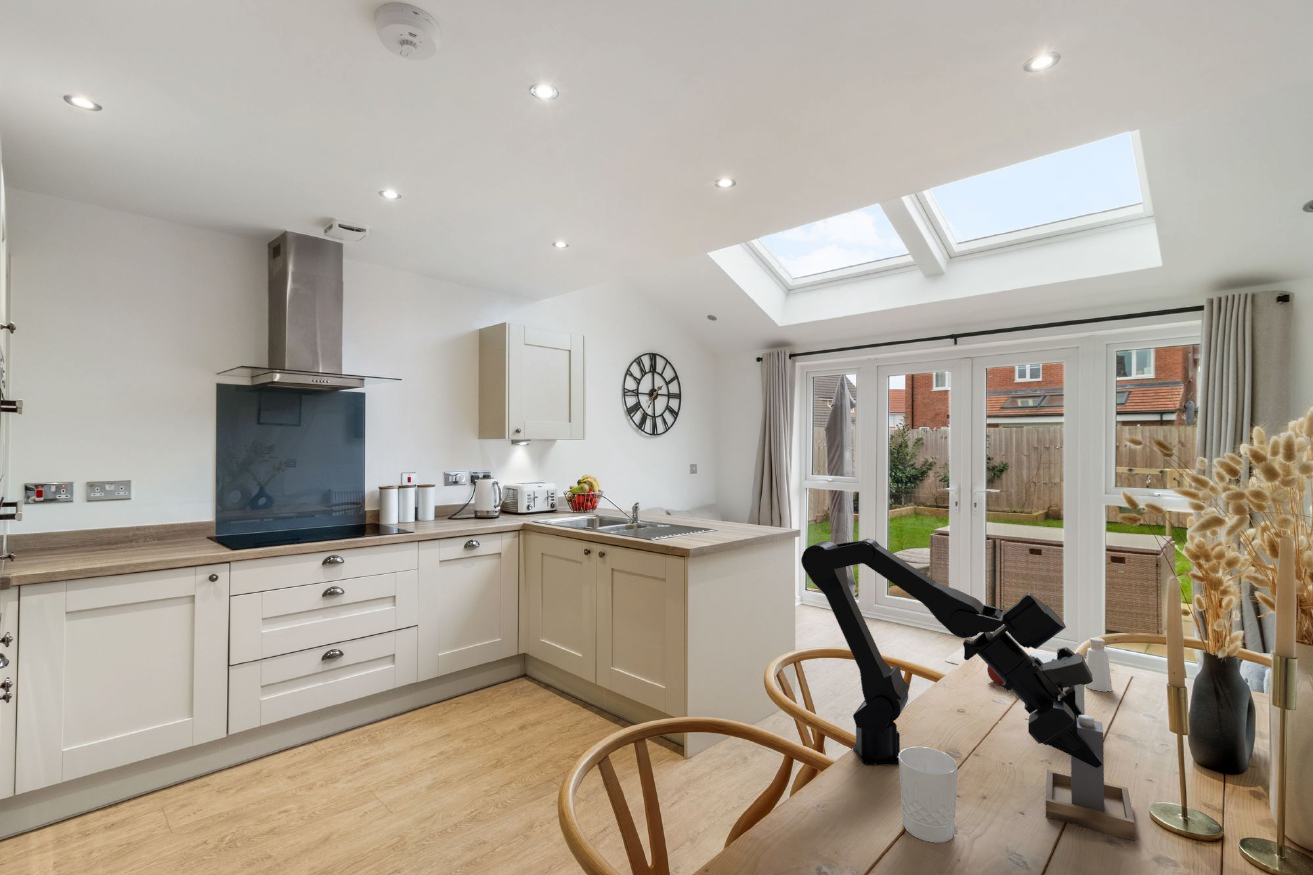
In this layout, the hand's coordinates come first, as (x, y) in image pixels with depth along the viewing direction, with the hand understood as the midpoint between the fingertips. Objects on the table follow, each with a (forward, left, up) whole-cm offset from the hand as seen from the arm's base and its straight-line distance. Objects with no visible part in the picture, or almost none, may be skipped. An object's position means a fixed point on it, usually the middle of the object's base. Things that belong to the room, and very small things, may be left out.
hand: (1098, 752), depth 95 cm
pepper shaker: (+34, +48, -9) cm, 59 cm away
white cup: (-27, -3, -9) cm, 29 cm away
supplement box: (+13, +30, -9) cm, 34 cm away
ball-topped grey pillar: (-1, +1, -8) cm, 8 cm away
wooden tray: (-1, +1, -9) cm, 9 cm away
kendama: (+17, +46, -9) cm, 50 cm away
